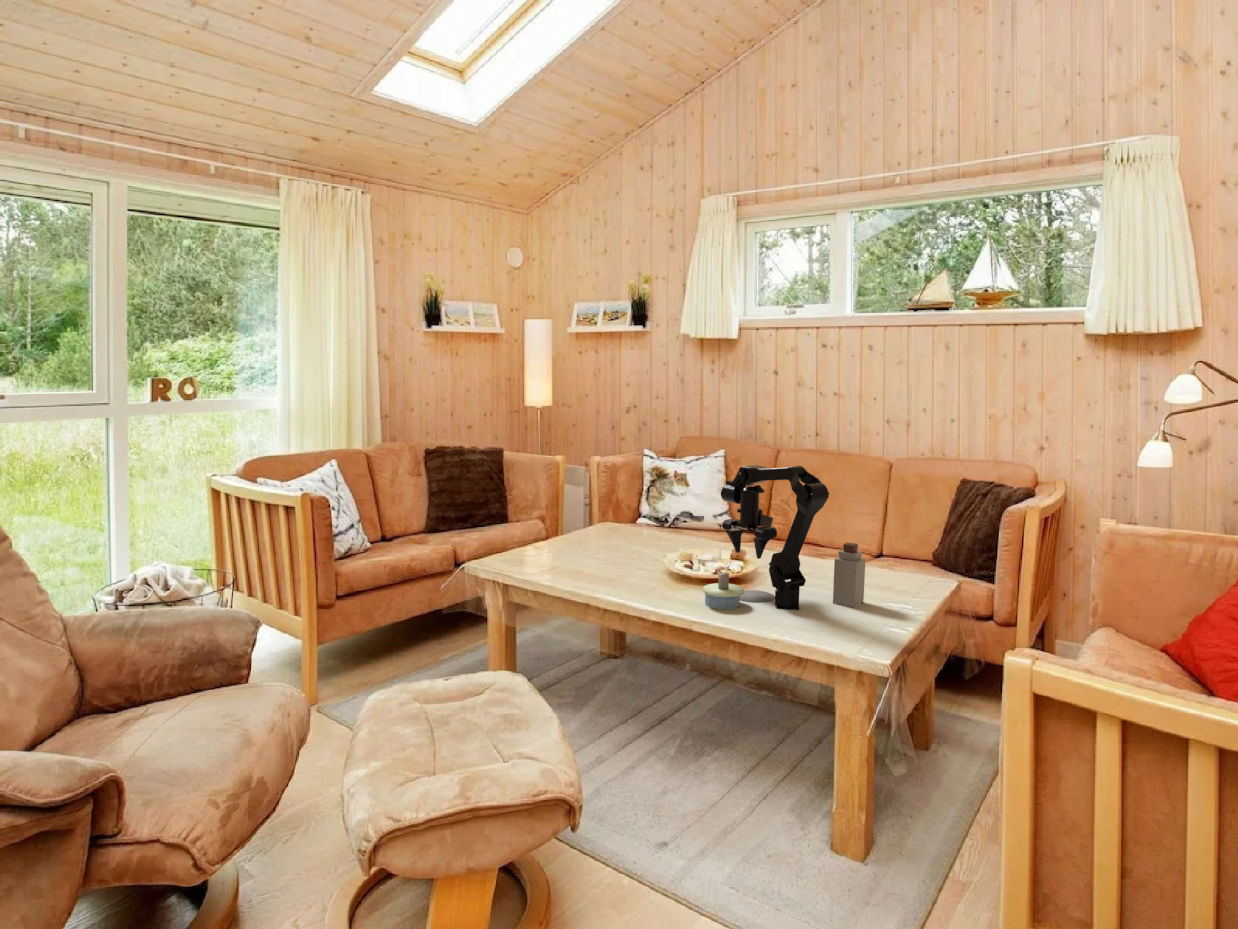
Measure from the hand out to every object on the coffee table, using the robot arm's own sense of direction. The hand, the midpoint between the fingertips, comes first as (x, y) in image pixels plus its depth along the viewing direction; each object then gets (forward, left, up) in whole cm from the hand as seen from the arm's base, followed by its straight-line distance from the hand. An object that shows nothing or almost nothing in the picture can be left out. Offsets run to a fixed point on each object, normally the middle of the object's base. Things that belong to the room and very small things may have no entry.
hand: (748, 555), depth 239 cm
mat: (-2, +4, -12) cm, 13 cm away
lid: (+7, +14, -8) cm, 17 cm away
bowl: (+7, +14, -12) cm, 20 cm away
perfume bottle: (-30, +4, -12) cm, 33 cm away
